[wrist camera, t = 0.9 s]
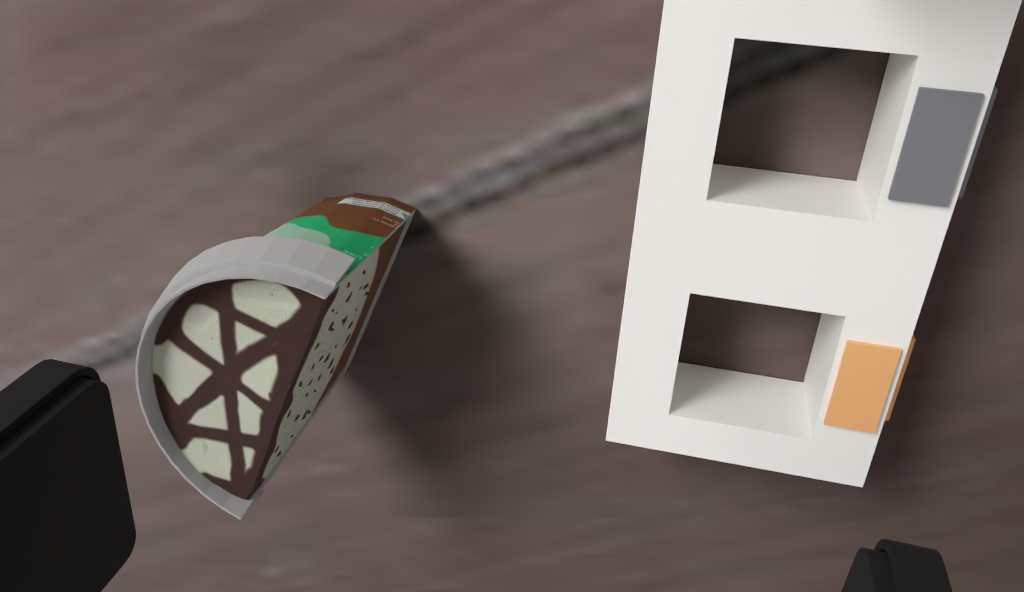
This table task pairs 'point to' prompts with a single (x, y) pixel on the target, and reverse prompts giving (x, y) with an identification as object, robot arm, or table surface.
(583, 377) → the table surface
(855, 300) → the socket block
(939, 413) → the table surface
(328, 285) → the food container
